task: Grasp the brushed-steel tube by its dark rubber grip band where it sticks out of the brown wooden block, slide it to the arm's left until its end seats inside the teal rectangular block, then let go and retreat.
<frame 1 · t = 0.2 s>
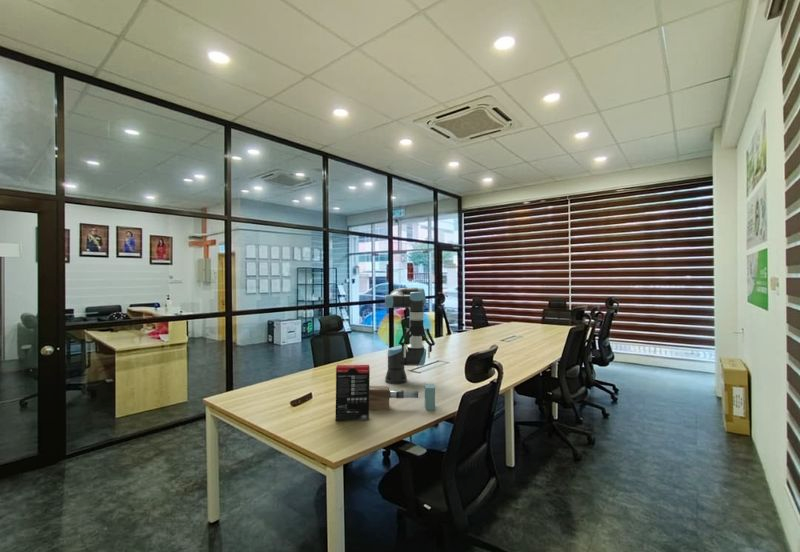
hand: (416, 357, 203), 27 cm above the table, fingers open, 13 cm apart
tube: (394, 394, 201), point 7 cm above the table, slide at 0.0 cm
brown wooden block: (378, 407, 201), on the table
teal rectangular block: (429, 407, 201), on the table
graphics card box: (352, 419, 185), on the table
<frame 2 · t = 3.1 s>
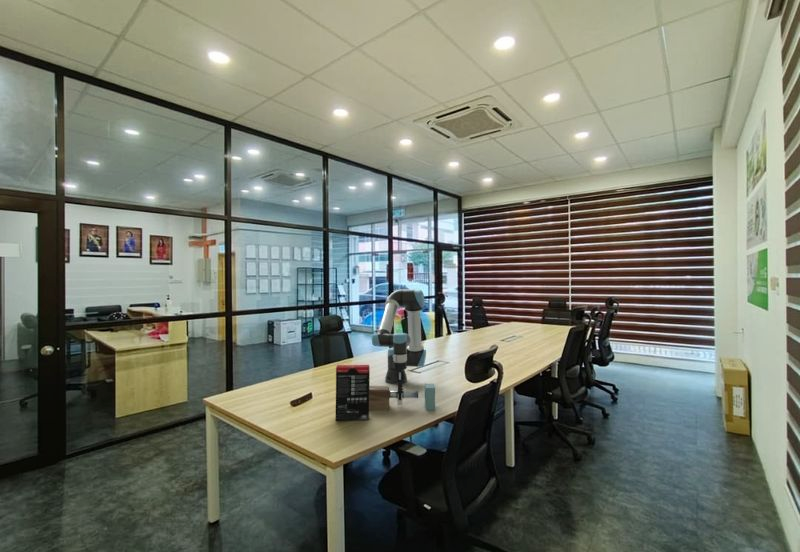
hand: (400, 403, 201), 2 cm above the table, fingers closed on tube, 4 cm apart
tube: (394, 394, 201), point 7 cm above the table, slide at 0.0 cm, touching gripper
everything else where it was.
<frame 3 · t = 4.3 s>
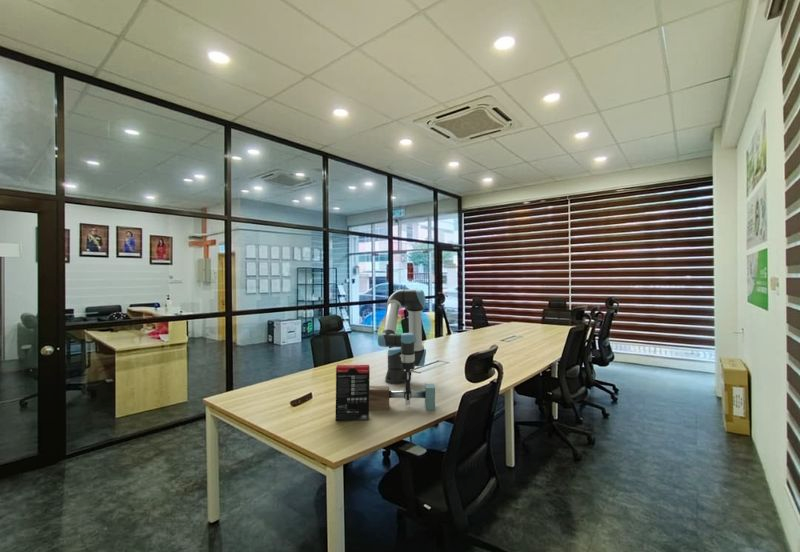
hand: (407, 403, 201), 2 cm above the table, fingers closed on tube, 4 cm apart
tube: (402, 394, 201), point 7 cm above the table, slide at 4.3 cm, touching gripper
everything else where it was.
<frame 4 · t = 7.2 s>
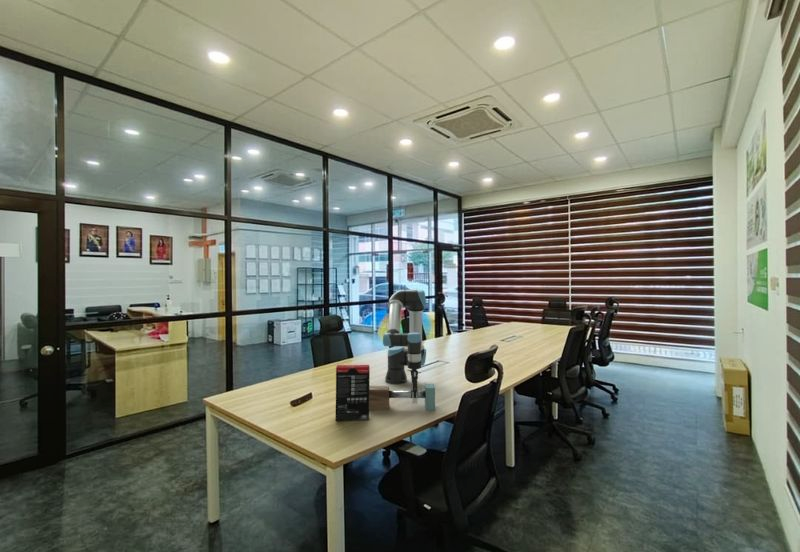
hand: (414, 399, 201), 5 cm above the table, fingers open, 13 cm apart
tube: (408, 394, 201), point 7 cm above the table, slide at 8.0 cm
everything else where it was.
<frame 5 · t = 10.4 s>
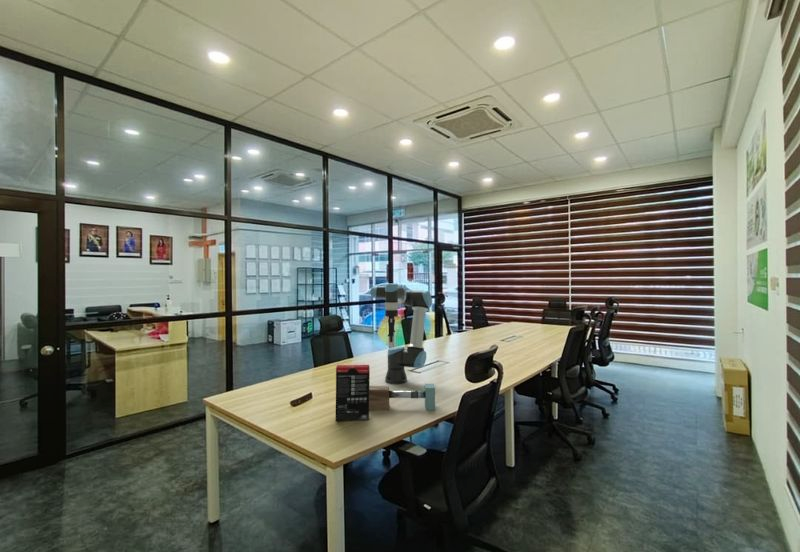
hand: (391, 345, 215), 32 cm above the table, fingers open, 13 cm apart
nothing on the table moved.
at the end: tube slide at 8.0 cm; the gripper is holding nothing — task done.
